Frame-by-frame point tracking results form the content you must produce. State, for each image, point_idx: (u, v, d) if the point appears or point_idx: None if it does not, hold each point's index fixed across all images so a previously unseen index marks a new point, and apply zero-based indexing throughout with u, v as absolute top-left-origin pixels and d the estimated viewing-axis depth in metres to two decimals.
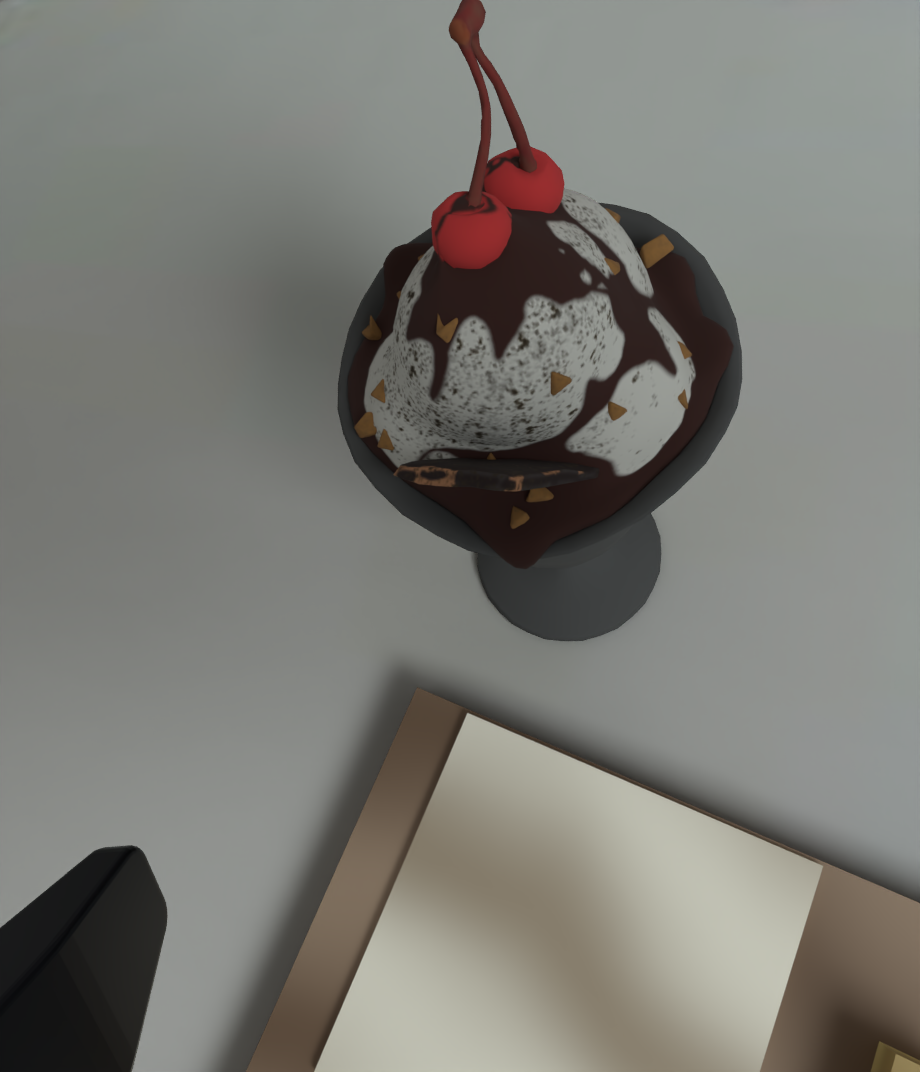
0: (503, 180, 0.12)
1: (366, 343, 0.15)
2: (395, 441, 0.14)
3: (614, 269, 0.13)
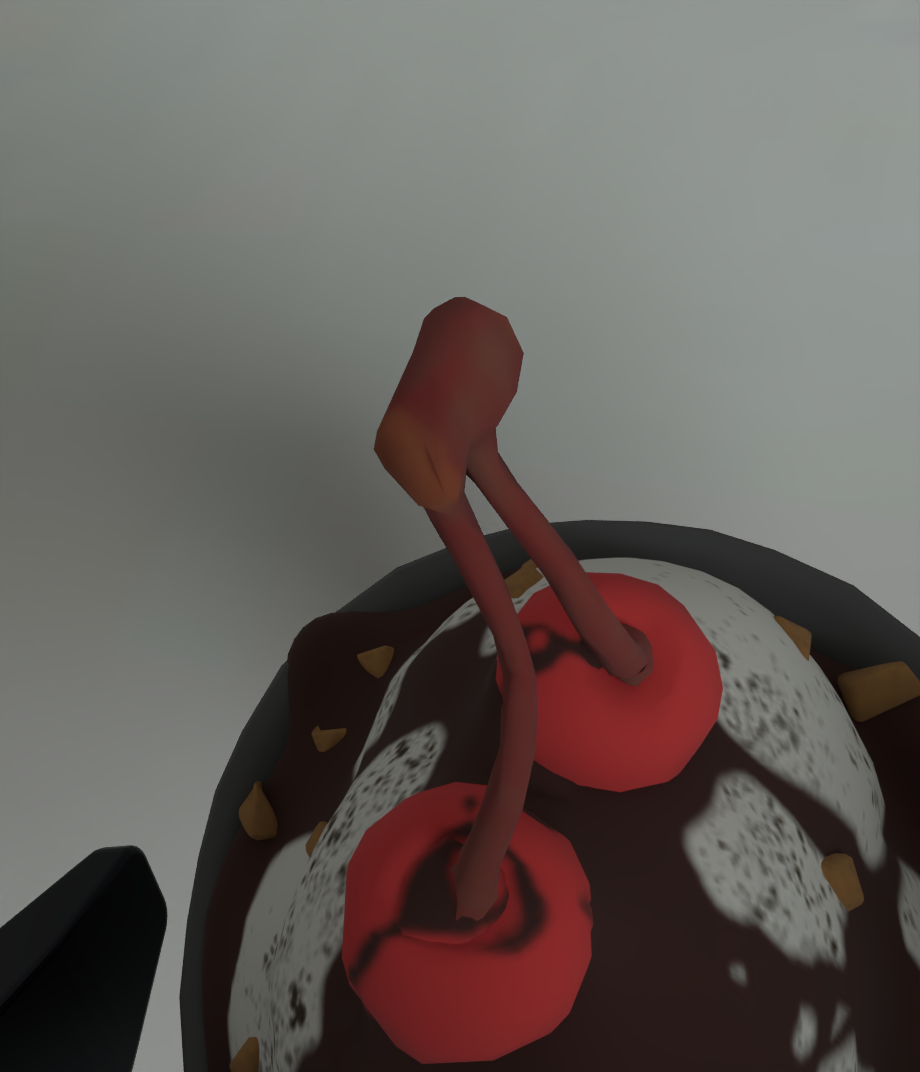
0: (559, 718, 0.04)
1: (246, 840, 0.07)
2: None
3: (845, 888, 0.05)
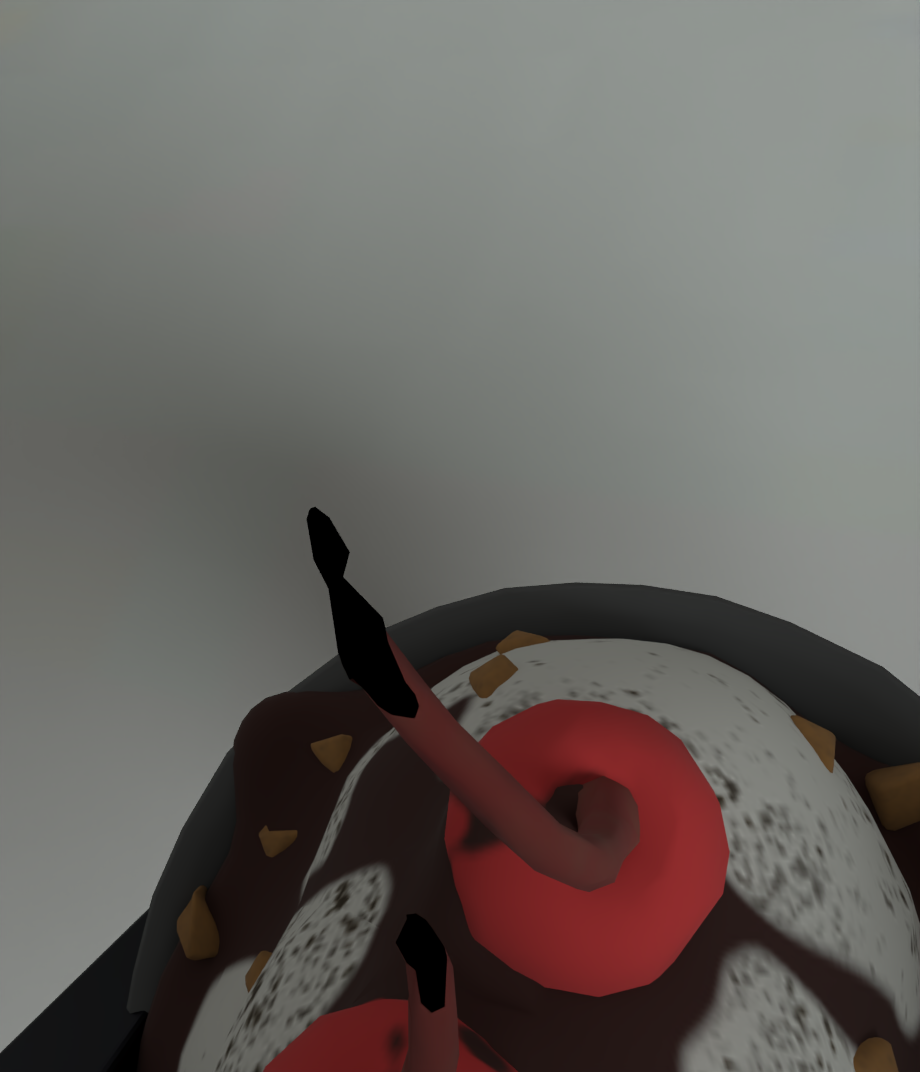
0: (520, 907, 0.03)
1: (185, 958, 0.06)
2: None
3: None
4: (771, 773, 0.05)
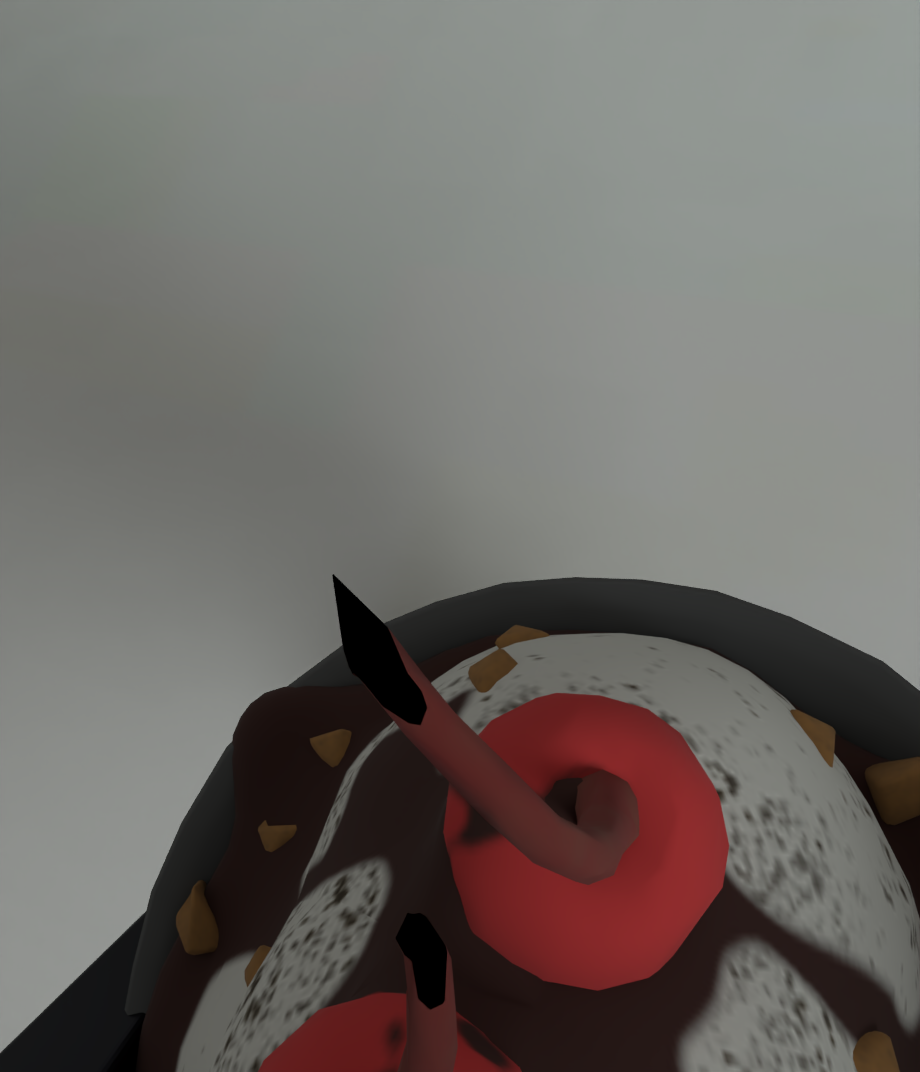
0: (519, 901, 0.03)
1: (184, 953, 0.06)
2: None
3: None
4: (770, 767, 0.05)
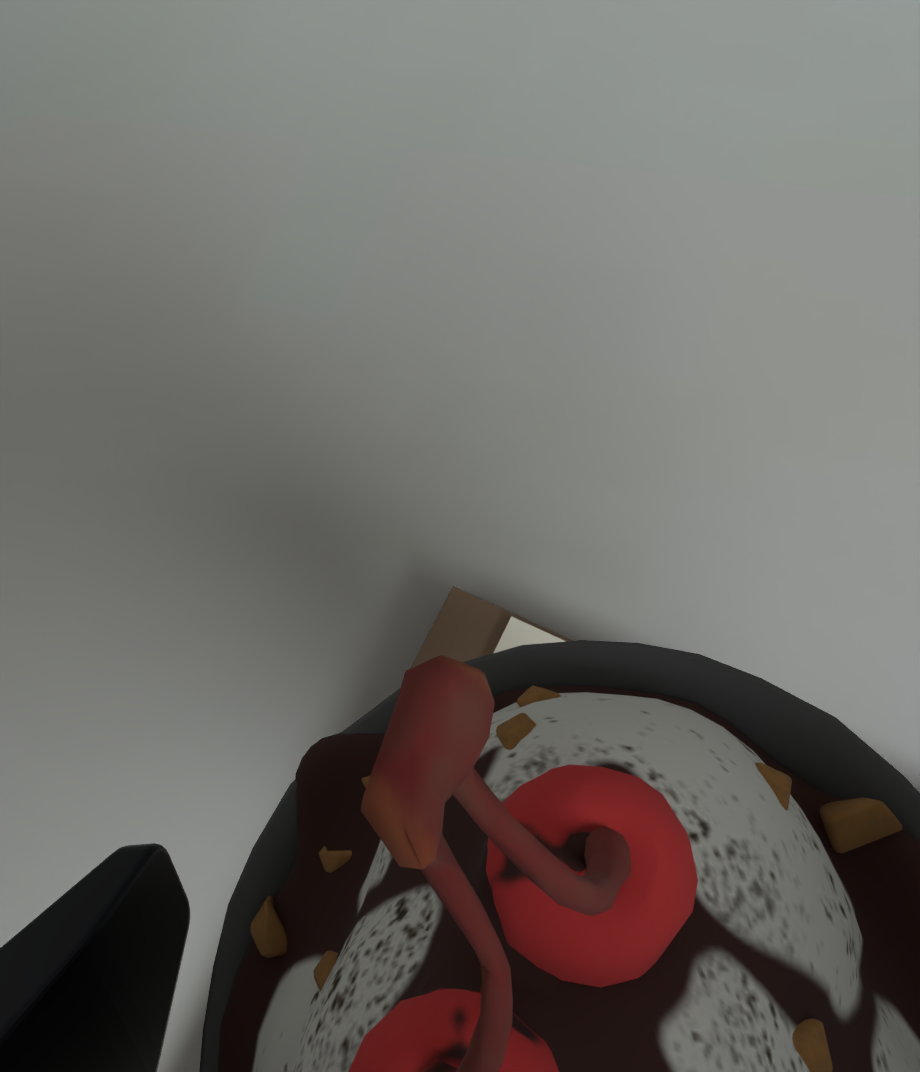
0: (544, 923, 0.05)
1: (258, 955, 0.08)
2: None
3: (816, 1056, 0.05)
4: (736, 814, 0.06)
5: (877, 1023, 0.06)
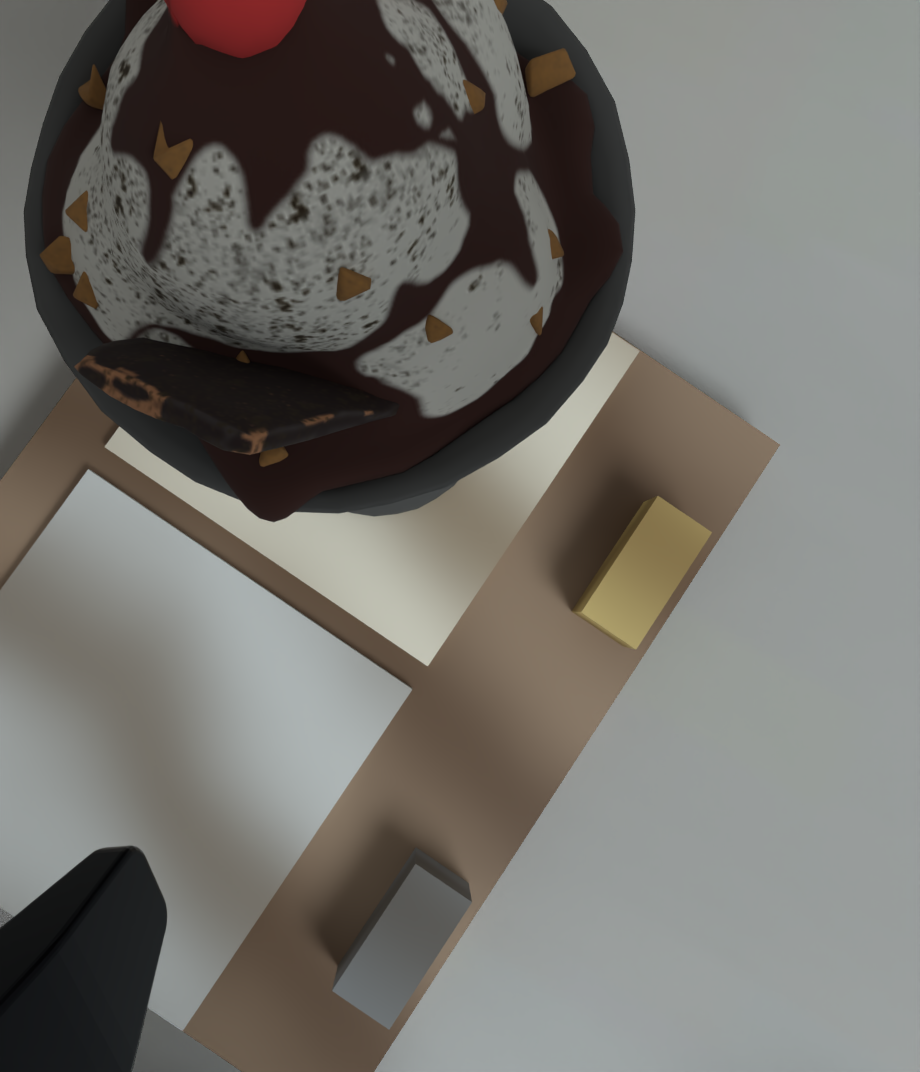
0: None
1: (83, 110, 0.09)
2: (99, 296, 0.09)
3: (476, 103, 0.08)
4: None
5: (526, 174, 0.09)
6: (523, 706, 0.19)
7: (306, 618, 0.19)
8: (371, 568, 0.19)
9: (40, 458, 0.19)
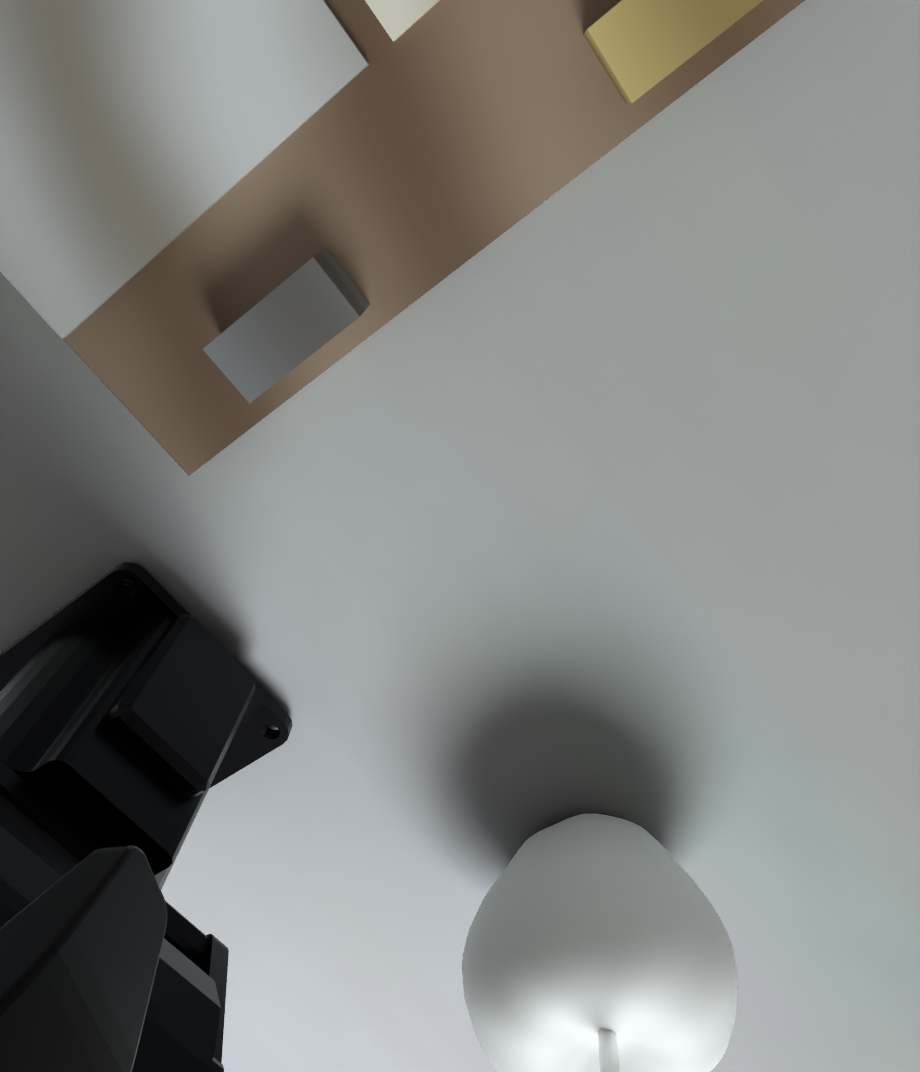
0: None
1: None
2: None
3: None
4: None
5: None
6: (486, 134, 0.17)
7: None
8: None
9: None
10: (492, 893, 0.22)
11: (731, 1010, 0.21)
